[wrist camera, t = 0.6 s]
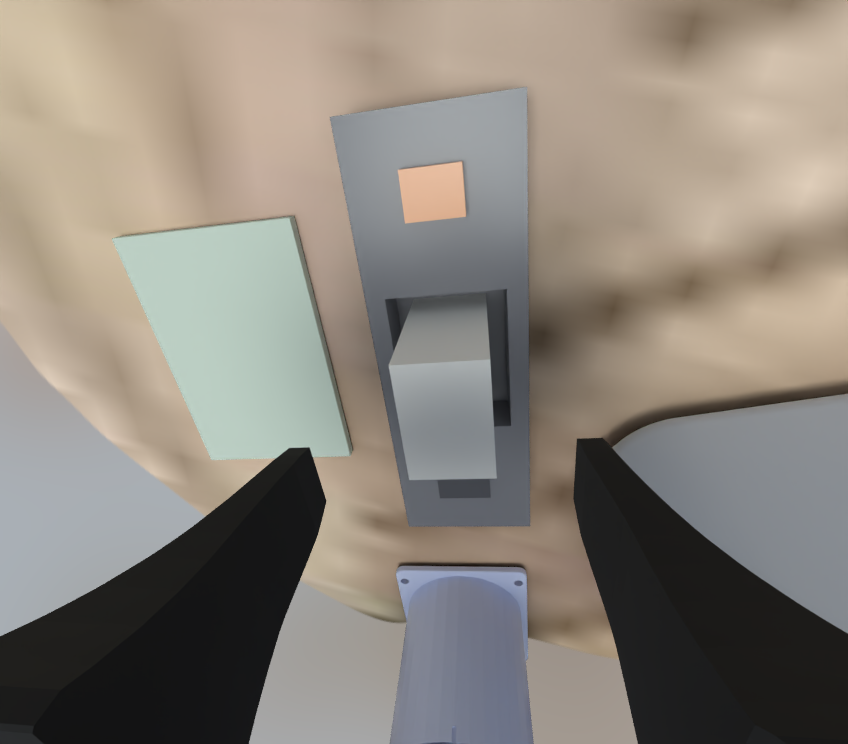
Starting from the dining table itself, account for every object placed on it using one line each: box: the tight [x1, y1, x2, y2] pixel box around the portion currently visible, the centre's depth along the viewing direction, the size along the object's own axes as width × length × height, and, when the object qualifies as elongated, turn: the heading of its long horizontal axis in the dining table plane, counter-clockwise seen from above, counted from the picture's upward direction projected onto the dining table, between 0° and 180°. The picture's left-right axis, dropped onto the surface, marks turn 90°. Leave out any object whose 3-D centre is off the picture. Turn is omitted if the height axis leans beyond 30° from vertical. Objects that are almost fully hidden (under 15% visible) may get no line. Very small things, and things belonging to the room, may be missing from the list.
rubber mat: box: [112, 216, 353, 460], centre depth 20 cm, size 12×8×1 cm, turn 7°
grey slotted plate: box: [330, 87, 530, 526], centre depth 18 cm, size 18×6×3 cm, turn 7°
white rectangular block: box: [389, 293, 497, 480], centre depth 16 cm, size 4×3×6 cm, turn 7°
